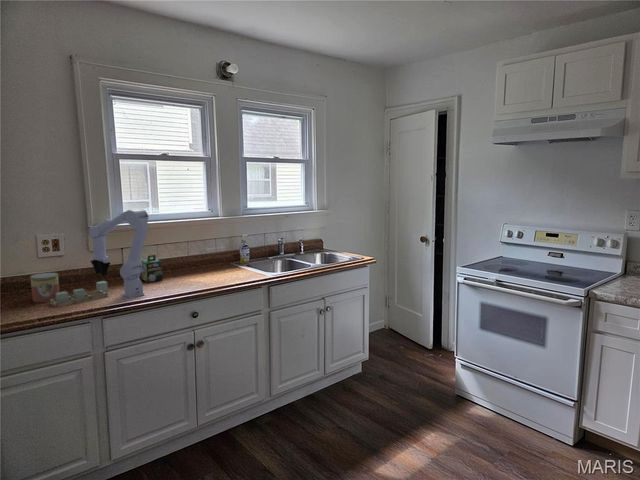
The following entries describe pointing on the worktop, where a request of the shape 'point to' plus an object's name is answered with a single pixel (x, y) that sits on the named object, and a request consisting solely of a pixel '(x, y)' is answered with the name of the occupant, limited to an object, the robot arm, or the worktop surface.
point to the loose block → (102, 286)
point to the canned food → (44, 286)
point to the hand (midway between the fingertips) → (101, 274)
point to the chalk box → (152, 269)
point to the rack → (88, 297)
